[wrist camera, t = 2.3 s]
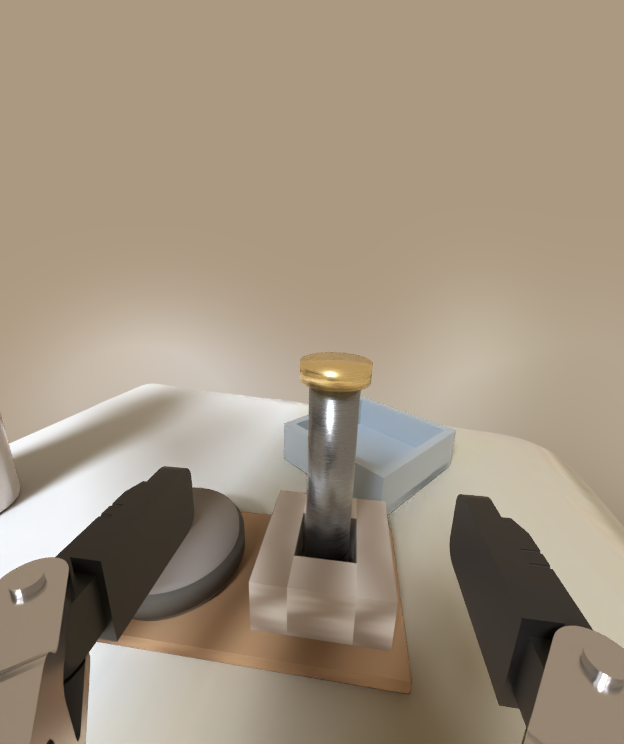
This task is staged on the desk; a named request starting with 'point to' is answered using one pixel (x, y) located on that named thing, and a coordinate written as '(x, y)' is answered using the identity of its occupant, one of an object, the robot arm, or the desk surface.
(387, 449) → the pin tray
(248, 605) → the board
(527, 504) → the desk surface
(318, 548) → the lock pin
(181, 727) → the desk surface
